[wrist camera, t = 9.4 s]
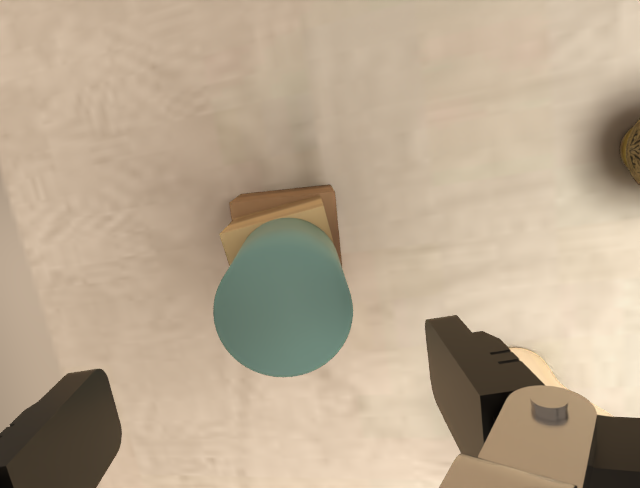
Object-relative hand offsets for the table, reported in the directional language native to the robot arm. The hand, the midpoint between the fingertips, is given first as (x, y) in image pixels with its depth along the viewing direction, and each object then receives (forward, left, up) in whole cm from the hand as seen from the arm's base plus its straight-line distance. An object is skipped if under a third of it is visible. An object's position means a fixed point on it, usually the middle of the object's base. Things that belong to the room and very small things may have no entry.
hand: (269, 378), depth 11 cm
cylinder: (0, 0, -11) cm, 11 cm away
